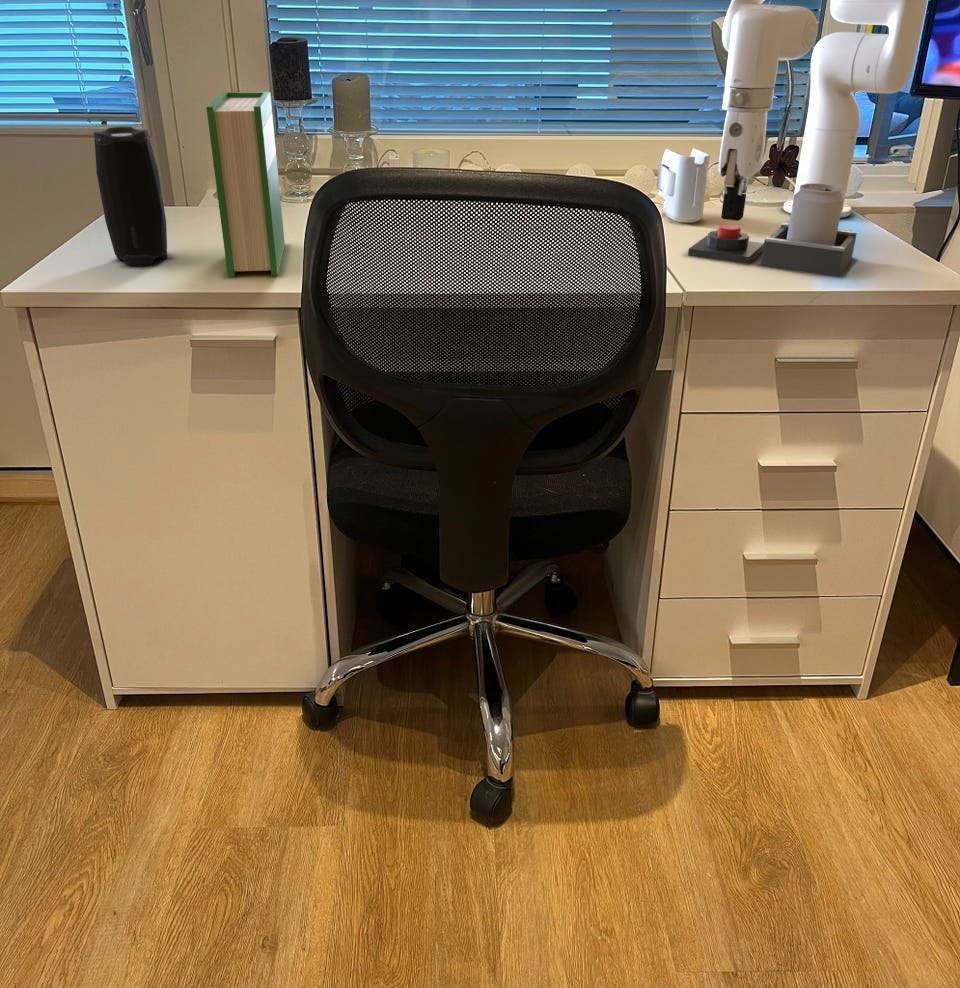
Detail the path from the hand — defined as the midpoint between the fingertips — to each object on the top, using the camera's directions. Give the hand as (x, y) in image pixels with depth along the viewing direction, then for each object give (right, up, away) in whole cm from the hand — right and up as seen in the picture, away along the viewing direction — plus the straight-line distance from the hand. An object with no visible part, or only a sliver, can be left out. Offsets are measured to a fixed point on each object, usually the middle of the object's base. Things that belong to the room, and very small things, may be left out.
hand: (731, 218), depth 153 cm
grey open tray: (+12, -8, -2) cm, 14 cm away
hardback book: (-77, -8, -4) cm, 78 cm away
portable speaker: (-96, -8, -4) cm, 96 cm away
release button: (0, -3, +1) cm, 3 cm away
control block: (0, -5, +2) cm, 6 cm away
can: (+12, -8, -2) cm, 14 cm away
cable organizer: (-3, +7, +25) cm, 26 cm away
